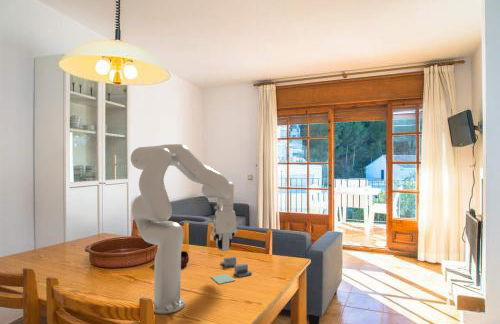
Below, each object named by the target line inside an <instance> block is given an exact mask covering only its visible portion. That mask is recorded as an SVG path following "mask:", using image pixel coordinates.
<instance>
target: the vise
mask: <svg viewBox="0 0 500 324" xmlns="http://www.w3.org/2000/svg"><path fill="white" fill-rule="evenodd" d="M220 266H222V267H225V268H229V267H234V268H233V269H234V272H233V273H234V274H235V276H236V277H238V278H242V277H247V276H248V277H249V276H251V275H252V274H253V273H252V272H251V270H249V269H248V268H249V267H248V266H249V264H247V263H244V262H243V263H240V264H237V256H236V257H235V256H229V257H228V256H227V257H224V258H223V261H221V262H220Z"/></svg>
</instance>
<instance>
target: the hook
mask: <svg viewBox="0 0 500 324" xmlns="http://www.w3.org/2000/svg"><path fill="white" fill-rule="evenodd" d="M229 237H230V233H225V234H222V237H221V240H222V249H220V248H218V246H217V241H218V239H217V238H216V241H215V242H216V245H215V247H216V249H218V250H219V251H221V252H227V251H230V248H229Z"/></svg>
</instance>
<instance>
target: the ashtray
mask: <svg viewBox="0 0 500 324" xmlns="http://www.w3.org/2000/svg"><path fill="white" fill-rule="evenodd" d="M189 260H190V257H189V253H188V252H187V251H182V250H181V268H183V267H185V266H186V265H188V264H189Z"/></svg>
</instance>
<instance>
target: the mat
mask: <svg viewBox="0 0 500 324" xmlns="http://www.w3.org/2000/svg"><path fill="white" fill-rule="evenodd" d="M210 278H211V279H212V280H213V281H215V282H216V283H217V284H218V285H222V284H228V283H232V281H233V282H236V280H235V279H234V278H233V277H231V276H230V275H229V274H227V273H225V274H218V275H213V276H210Z"/></svg>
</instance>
